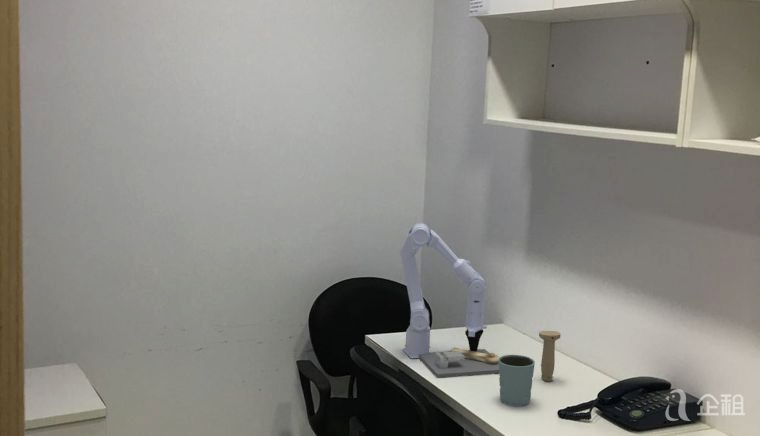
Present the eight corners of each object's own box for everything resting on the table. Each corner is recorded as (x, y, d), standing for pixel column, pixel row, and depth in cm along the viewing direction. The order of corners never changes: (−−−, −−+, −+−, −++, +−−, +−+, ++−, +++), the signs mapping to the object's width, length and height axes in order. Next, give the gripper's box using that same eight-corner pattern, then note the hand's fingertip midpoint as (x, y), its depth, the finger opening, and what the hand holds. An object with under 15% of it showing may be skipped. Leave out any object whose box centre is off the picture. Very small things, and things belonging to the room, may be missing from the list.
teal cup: (539, 403, 213) (542, 362, 211) (513, 410, 208) (515, 368, 206) (515, 391, 222) (517, 352, 220) (489, 397, 216) (491, 357, 214)
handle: (559, 382, 230) (562, 335, 227) (539, 383, 229) (542, 335, 226) (553, 376, 234) (556, 330, 232) (534, 377, 233) (537, 330, 231)
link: (501, 360, 243) (501, 353, 243) (495, 364, 239) (496, 357, 239) (455, 351, 251) (455, 344, 251) (449, 355, 247) (449, 347, 247)
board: (417, 356, 250) (417, 353, 250) (484, 352, 256) (484, 348, 256) (437, 377, 231) (437, 374, 230) (509, 372, 237) (509, 369, 237)
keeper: (458, 361, 242) (458, 351, 242) (464, 367, 237) (464, 356, 237) (435, 363, 240) (435, 352, 240) (440, 368, 235) (440, 357, 235)
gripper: (484, 319, 241) (482, 359, 243) (490, 307, 255) (488, 346, 257) (462, 316, 242) (461, 357, 245) (469, 305, 256) (467, 343, 258)
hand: (473, 351), depth 251 cm, fingers closed
